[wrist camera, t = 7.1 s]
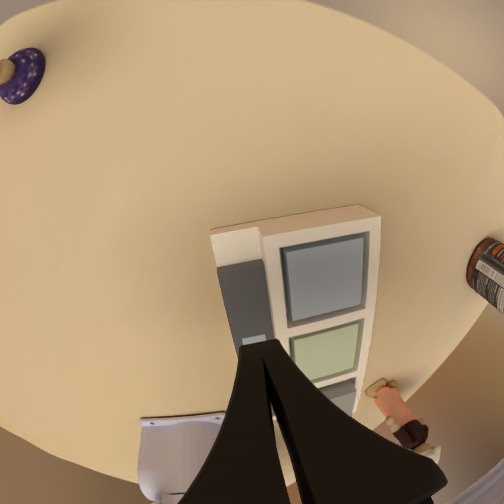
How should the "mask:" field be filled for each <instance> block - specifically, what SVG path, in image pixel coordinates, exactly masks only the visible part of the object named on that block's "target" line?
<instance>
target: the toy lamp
mask: <svg viewBox="0 0 504 504" xmlns="http://www.w3.org/2000/svg"><path fill="white" fill-rule="evenodd" d="M44 62H45V61H44V57H43V55H42V53H41V52H40V51H39V50H38V49H36V48H25V49H22V50H19V51H17V52H16V53H14V54H13V55H11V56H10V57H9V58H8V59H7V60H6V59H2V60H0V97H1V98H2V99H3V100H4V101H5V102H7V103H9V104H14V105H15V104H20V103H22V102H24V101H25V100H26V99H27V98H29V97H30V96H31V95H32V93H33V92H34V91H35V89H36V88H37V86H38V84H39V82H40V80H41V78H42V75H43V71H44Z"/></svg>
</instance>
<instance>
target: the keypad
mask: <svg viewBox="0 0 504 504" xmlns="http://www.w3.org/2000/svg"><path fill="white" fill-rule="evenodd" d="M356 233H358V234H359V235H360V236H362V237H363V270H362V289H361V303H360V304H359V305H355V306H351V307H348V308H344V309H340V310H336V311H333V312H329V313H325V314H321V315H317V316H312V317H308V318H304V319H300V320H295V321H292V318H291V316H290V314H289V311H288V309H287V299H286V289H285V279H284V269H283V260H282V251H281V247H287V246H292V245H297V244H302V243H308V242H313V241H318V240H324V239H329V238H334V237H340V236H345V235H350V234H356ZM210 237H211V242H212V247H213V252H214V256H215V261H216V265H217V274H218V279H219V283H220V288H221V292H222V296H223V300H224V305H225V309H226V313H227V317H228V321H229V325H230V329H231V333H232V337H233V341H234V345H235V349H236V353H237V357H239V347H240V346H241V345H246V344H251V343H256V342H261V341H266V340H271V339H275V338H276V339H278V340H279V341H280V343H281V344H282V346H283V347H284V349H285V351H286V352H287V353H288V355H289V356H290V358H291V359H292V356H291V344H290V337H294V336H298V335H302V334H306V333H310V332H314V331H318V330H322V329H326V328H330V327H334V326H337V325H341V324H345V323H348V322H352V321H355V320H357V322H358V323H359V325H358V335H357V343H356V351H355V359H354V366H353V368H350V369H347V370H344V371H341V372H338V373H334V374H331V375H327V376H324V377H320V378H317V379H313V380H310V381H311V382H312V383H313V384H314V385H315V386H316V387H317V388H318V389H321V388H324V387H328V386H331V385H335V384H338V383H341V382H344V381H347V380H350V379H351V381H352V382H353V384H354V386H355V388H356V390H357V393H356V398H355V402H354V407H353V411H352V413H355V412H356V410H357V406H358V402H359V398H360V394H361V389H362V385H363V380H364V375H365V370H366V365H367V359H368V354H369V348H370V342H371V335H372V328H373V321H374V313H375V305H376V296H377V285H378V273H379V259H380V238H381V216H380V215H378V214H376V213H374V212H372V211H371V210H369V209H367V208H365V207H363V206H361V205H353V206H346V207H340V208H333V209H327V210H321V211H314V212H308V213H302V214H296V215H290V216H284V217H278V218H272V219H267V220H261V221H255V222H250V223H244V224H239V225H233V226H228V227H222V228H217V229H212V230H210ZM271 409H272V417H273V420H277V419H276V416H275V413H274V411H273V408H272V405H271Z"/></svg>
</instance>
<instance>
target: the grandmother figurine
mask: <svg viewBox="0 0 504 504" xmlns="http://www.w3.org/2000/svg"><path fill="white" fill-rule="evenodd" d="M386 384H387V382H386V380H385V379H381V380H379V381H377V382H376V383H375V384H373V385H372V386H370V387H369V388H368V389H367V390H366V392H365V394H366V395H367V396H369V397H375V396H376V397H377V398H376V399H375V404H376V405H377V407H378V408H379V409H380V410H381V412H382V413H383V414H384V416H385V417H386V419H385V422H386V424H388V425H389V428H390V430H391V431H392V433H393V435H394V436H395V437H396V438H397V439H398V440H399V442H400V443H401V445H402V446H403V447H404V448H408V449H411V450H412V451H413V452H415V453H418V454H421V455H423V456H426V457H429V458H431V459H433V460H434V462H435V463H436V464H438V461H439V458H440V451H441V446H440V445H436V446H435V447H432V446H431V445H429V444H426V443H425V441H426V439H427V437H428V427H427V425H426V424H425V423H424V419H423V418H420V419H418V420H416V419H415V418H414V417H413V416H412V414H411V413H410V411H409V409H408V407H407V406H406V405H405V403H404V401H403V399H402V398H401V396H400V394H399V392H398V390H397V389H396V386H397V381H391V382H389V383H388V384H387V385H386Z"/></svg>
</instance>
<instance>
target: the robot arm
mask: <svg viewBox="0 0 504 504" xmlns="http://www.w3.org/2000/svg"><path fill="white" fill-rule="evenodd" d="M271 405H272V408H273V411H274V413H275V416H276V419H277V422H278V425H279V428H280V430H281V433H282V436H283V439H284V441H285V444H286V447H287V450H288V453H289V456H290V459H291V462H292V466H293V470H294V474H295V478H296V482H297V486H298V490H299V494H300V498H301V502H302V504H434V502H433V500H432V498H431V496H432V495H433V494H435V493H436V492H438V491H439V490H440V489H442V488H443V487H444V486H446V484H447V482H448V481H447V479H446V477H445V475H444V473H443V472H442V470H441V469H440V468H439V466H438V465H437V464H436V463H435V462H434V460H433V459H431V458H429V457H426V456H423V455H421V454H418V453H415V452H413V451H411V450H408V449H406V448H404V447H401V446H399V445H397V444H395V443H393V442H391V441H389V440H387V439H385V438H384V437H382V436H380V435H379V434H377V433H375V432H373V431H372V430H370V429H368V428H367V427H365V426H364V425H362V424H360V423H359V422H358V421H356V420H355V419H353V418H352V417H351V416H349V415H348V414H347V413H345V412H344V411H343V410H341V409H340V408H339V407H338V406H336V405H335V404H334V403H333V402H332V401H331V400H330V399H328V398H327V397H326V396H325V395H324V394H323V393H322V392H321V391H320V390H319V389H318V388H317V387H316V386H315V385H314V384H313V383H312V382H311V381H310V380H309V379H308V378H307V377H306V376H305V374H304V373H303V372H302V371H301V370H300V369H299V368H298V366H297V365H296V364H295V363H294V361H293V360H292V359H291V358H290V356H289V355H288V353H287V352H286V351H285V349H284V347H283V346H282V344H281V343H280V341H279V340H278V339H276V338H275V339H271V340H266V341H261V342H256V343H251V344H246V345H241V346H240V347H239V357H238V366H237V372H236V378H235V382H234V386H233V390H232V395H231V398H230V401H229V405H228V408H227V411H226V413H224V412H221V413H214V414H205V415H196V416H185V417H171V418H150V419H140V422H139V423H140V424H141V426H142V432H141V440H140V448H139V457H138V467H137V475H138V481H139V485H140V488H141V490H142V492H143V494H144V495H145V496H146V497H147V498H148V499H149V500H152V501H154V502H153V503H151V504H160V502H162V504H290V500H289V497H288V493H287V489H286V485H285V481H284V477H283V473H282V469H281V465H280V460H279V456H278V452H277V448H276V440H275V432H274V424H273V417H272V409H271ZM446 504H504V458H503V459H502V460H501V461H500V462H499V463H498V464H497V465H496V466H495V467H494V468H493V469H491V470H490V471H489V472H488V473H487V474H486V475H485V476H483V477H482V478H481V479H479V480H478V481H477V482H476V483H475V484H473V485H472V486H470V487H469V488H468V489H467V490H465V491H464V492H462V493H461V494H459V495H458V496H457V497H455V498H454V499H452V500H451V501H449V502H448V503H446Z"/></svg>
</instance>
